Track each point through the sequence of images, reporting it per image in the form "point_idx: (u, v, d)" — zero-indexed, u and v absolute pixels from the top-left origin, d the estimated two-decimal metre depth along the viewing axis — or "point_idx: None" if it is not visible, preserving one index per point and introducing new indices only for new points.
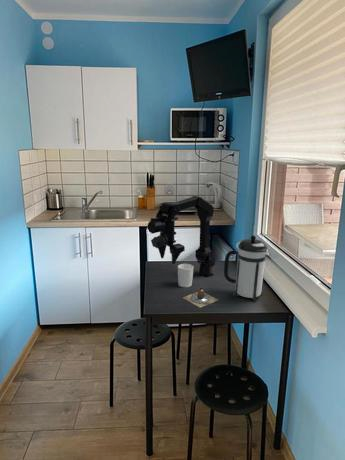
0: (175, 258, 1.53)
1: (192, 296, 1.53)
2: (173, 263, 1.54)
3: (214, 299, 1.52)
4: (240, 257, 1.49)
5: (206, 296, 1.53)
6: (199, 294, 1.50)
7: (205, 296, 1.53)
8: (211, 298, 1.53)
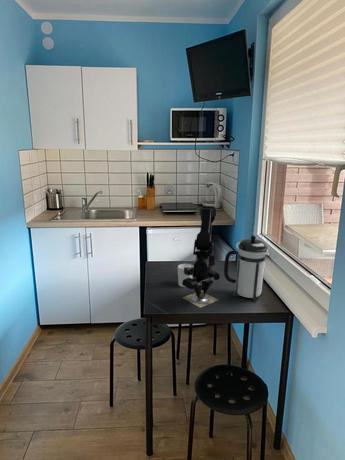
0: (197, 292, 1.49)
1: (192, 296, 1.53)
2: (197, 296, 1.51)
3: (214, 299, 1.52)
4: (240, 257, 1.49)
5: (206, 296, 1.53)
6: None
7: (205, 296, 1.53)
8: (211, 298, 1.53)
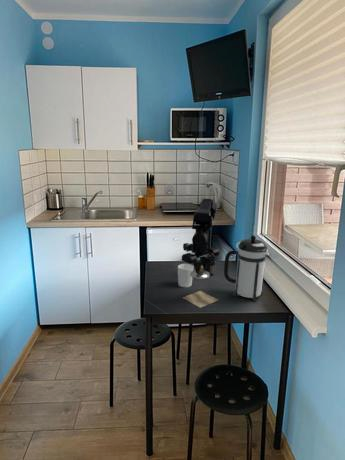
0: (196, 267, 1.48)
1: (191, 272, 1.52)
2: (196, 272, 1.49)
3: (214, 299, 1.52)
4: (240, 257, 1.49)
5: (205, 272, 1.52)
6: None
7: (204, 272, 1.52)
8: (211, 298, 1.53)
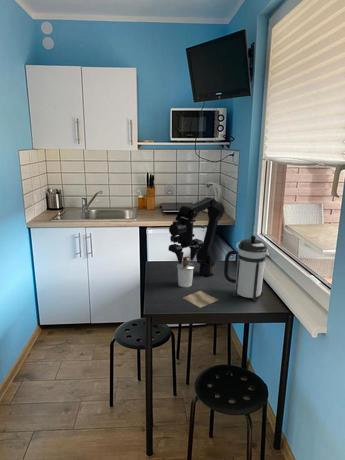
0: (179, 258, 1.60)
1: (178, 264, 1.65)
2: (179, 263, 1.61)
3: (214, 299, 1.52)
4: (240, 257, 1.49)
5: (191, 264, 1.66)
6: (184, 262, 1.62)
7: (190, 264, 1.65)
8: (211, 298, 1.53)
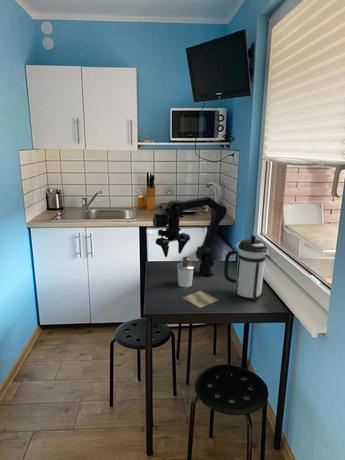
0: (164, 251, 1.66)
1: (178, 264, 1.65)
2: (165, 256, 1.68)
3: (214, 299, 1.52)
4: (240, 257, 1.49)
5: (191, 264, 1.66)
6: (184, 262, 1.62)
7: (190, 264, 1.66)
8: (211, 298, 1.53)
